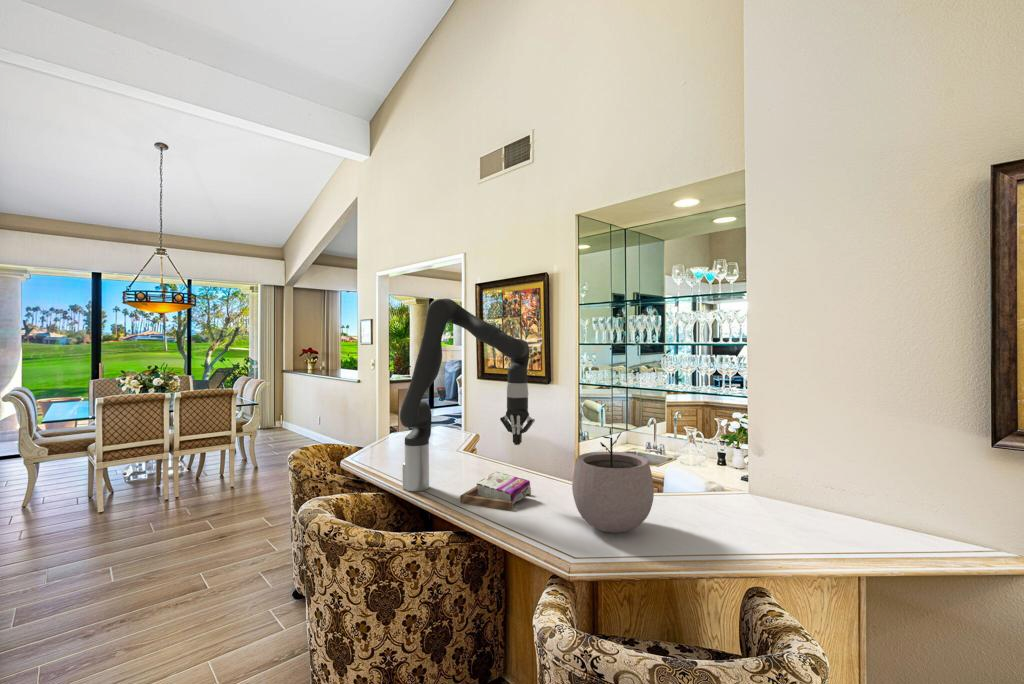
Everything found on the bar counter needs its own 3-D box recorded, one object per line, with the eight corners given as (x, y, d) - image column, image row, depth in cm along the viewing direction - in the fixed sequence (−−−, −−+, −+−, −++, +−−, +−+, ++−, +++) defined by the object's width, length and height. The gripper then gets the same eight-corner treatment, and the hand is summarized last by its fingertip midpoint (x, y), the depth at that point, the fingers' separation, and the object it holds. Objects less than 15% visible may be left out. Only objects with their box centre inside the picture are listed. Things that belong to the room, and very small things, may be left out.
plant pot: (558, 520, 148) (558, 424, 148) (623, 510, 157) (623, 420, 157) (598, 551, 126) (598, 438, 126) (672, 537, 134) (671, 432, 134)
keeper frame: (460, 502, 165) (460, 495, 165) (483, 488, 182) (483, 481, 182) (510, 510, 157) (510, 502, 157) (530, 494, 174) (530, 487, 174)
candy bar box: (531, 493, 169) (497, 482, 179) (530, 480, 168) (496, 470, 179) (511, 507, 161) (477, 495, 171) (510, 493, 160) (475, 482, 170)
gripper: (495, 395, 165) (495, 444, 165) (530, 397, 160) (530, 448, 160) (504, 393, 172) (504, 440, 172) (538, 395, 167) (538, 444, 167)
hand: (517, 444), depth 166 cm, fingers closed
